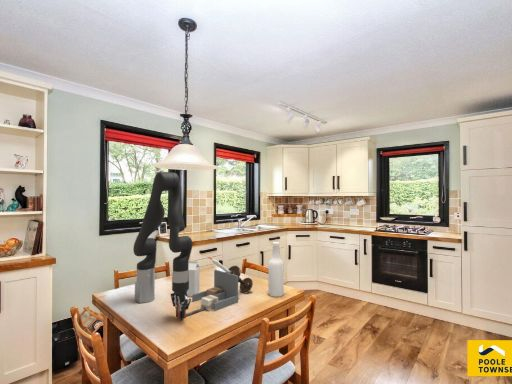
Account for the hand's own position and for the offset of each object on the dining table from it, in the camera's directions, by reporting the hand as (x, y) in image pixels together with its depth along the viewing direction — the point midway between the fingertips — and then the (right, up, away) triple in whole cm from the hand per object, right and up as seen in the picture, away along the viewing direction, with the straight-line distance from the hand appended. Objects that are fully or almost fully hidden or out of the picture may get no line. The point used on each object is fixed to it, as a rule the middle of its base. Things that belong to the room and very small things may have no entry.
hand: (180, 317), depth 128 cm
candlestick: (+29, +2, +37) cm, 48 cm away
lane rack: (+13, -1, +21) cm, 25 cm away
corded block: (+6, -1, +7) cm, 10 cm away
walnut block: (+12, -1, +26) cm, 29 cm away
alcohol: (+46, -2, +32) cm, 57 cm away
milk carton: (-2, -1, +32) cm, 32 cm away
